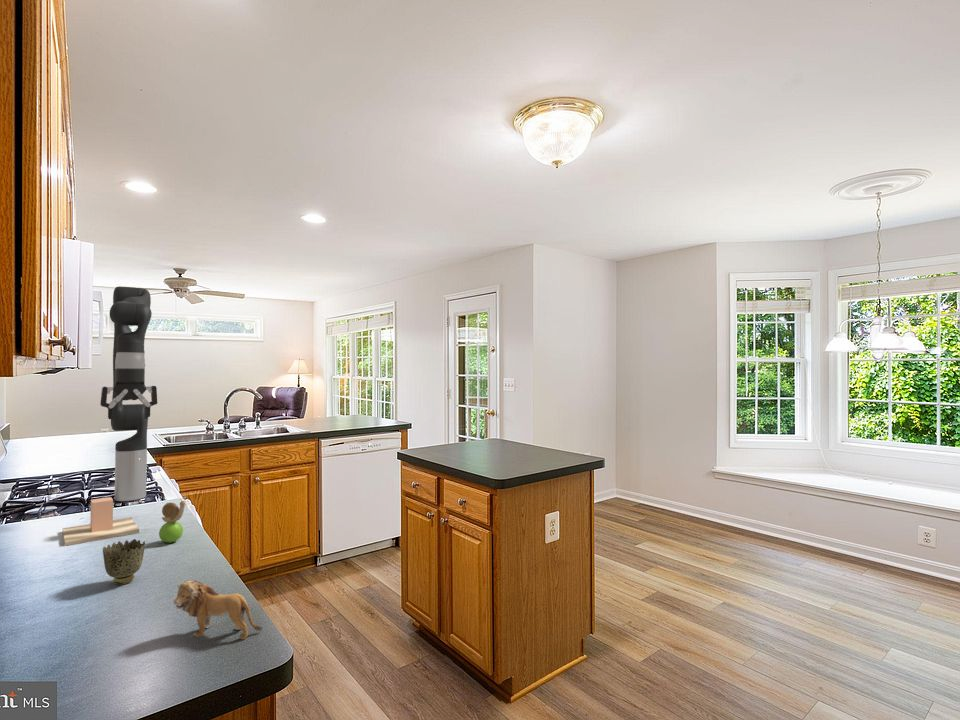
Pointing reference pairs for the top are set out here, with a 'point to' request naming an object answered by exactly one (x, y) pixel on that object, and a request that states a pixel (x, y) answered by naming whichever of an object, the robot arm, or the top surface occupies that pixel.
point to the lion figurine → (212, 606)
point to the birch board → (99, 532)
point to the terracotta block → (101, 514)
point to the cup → (123, 560)
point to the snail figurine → (172, 522)
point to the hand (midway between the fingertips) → (129, 419)
